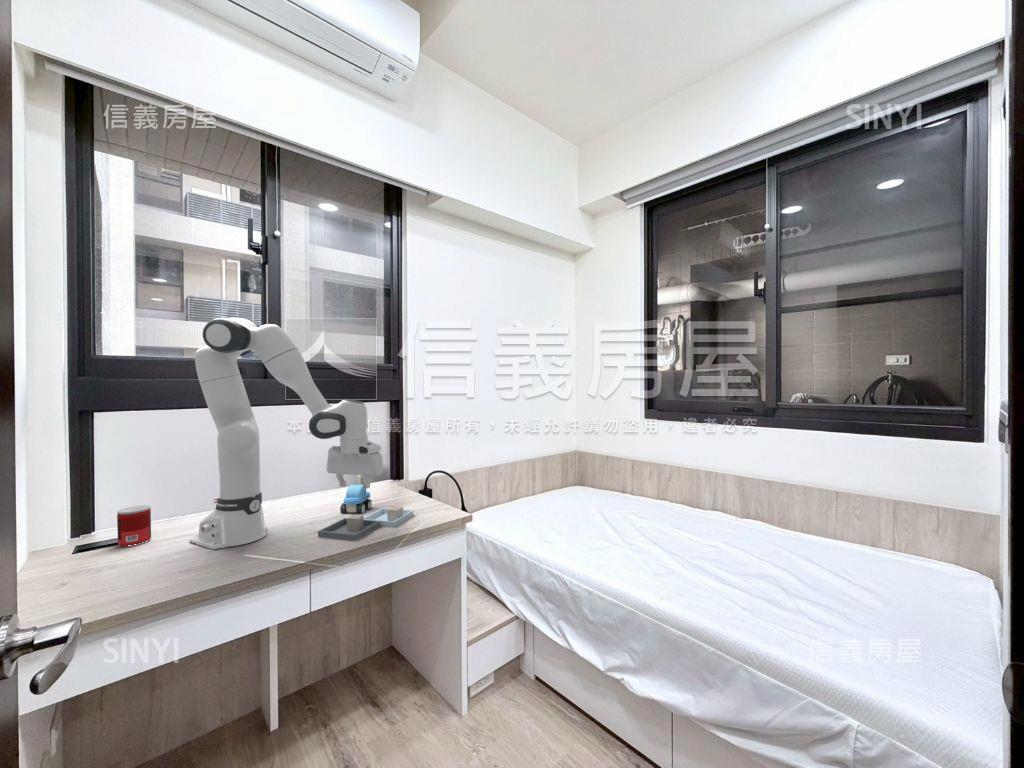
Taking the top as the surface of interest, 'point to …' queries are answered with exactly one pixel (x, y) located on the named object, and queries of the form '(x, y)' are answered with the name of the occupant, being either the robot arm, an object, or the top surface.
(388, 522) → the blue tray
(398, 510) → the grey cube
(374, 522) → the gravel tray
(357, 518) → the tan cube
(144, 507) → the canned food
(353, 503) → the toy excavator
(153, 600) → the top surface
